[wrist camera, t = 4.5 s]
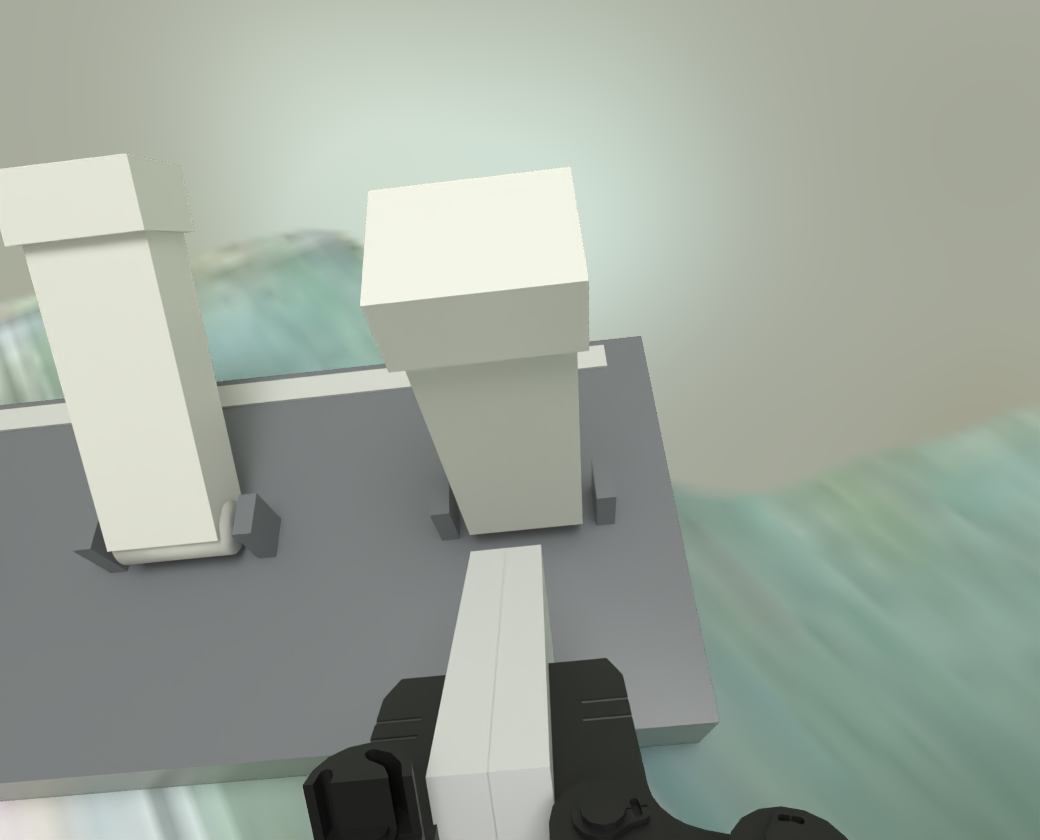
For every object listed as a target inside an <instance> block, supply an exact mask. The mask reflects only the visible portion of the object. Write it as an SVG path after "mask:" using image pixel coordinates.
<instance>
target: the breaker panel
mask: <svg viewBox="0 0 1040 840" xmlns="http://www.w3.org/2000/svg"><path fill="white" fill-rule="evenodd" d="M577 357H578V389H579V422H580V454H581V486H582V518H583V524H577V525H567V526H556V527H546V528H536V529H526V530H515V531H505V532H495V533H485V534H475V535H470V534H469V532H468V529H467V527H466V524H465V522H464V519H463V516H462V514H461V511H460V509H459V506H458V504H457V501H456V499H455V496H454V494H453V491H452V488H451V486H450V483H449V481H448V478H447V476H446V473H445V471H444V468H443V466H442V463H441V461H440V458H439V455H438V453H437V450H436V448H435V445H434V443H433V440H432V438H431V435H430V433H429V430H428V428H427V425H426V422H425V420H424V417H423V415H422V412H421V410H420V407H419V405H418V402H417V400H416V397H415V394H414V392H413V389H412V387H411V384H410V382H409V379H408V377H407V374H406V372H405V371H399V372H390V373H389V372H388V370H387V367H386V365H385V364H379V365H369V366H360V367H351V368H342V369H332V370H323V371H314V372H305V373H296V374H286V375H277V376H268V377H259V378H249V379H240V380H231V381H222V382H216V383H217V388H218V392H219V397H220V401H221V406H222V410H223V415H224V419H225V424H226V428H227V433H228V437H229V442H230V446H231V451H232V455H233V460H234V464H235V469H236V474H237V478H238V483H239V487H240V492H241V495H238V501H237V507H236V513H235V519H234V525H233V532H232V535H233V536H234V537H235V538H236V539H237V540H238V541H240V542H241V543H242V546H241V549H240V550H239V551H238V553H236V554H234V555H224V556H214V557H204V558H193V559H183V560H173V561H163V562H153V563H142V564H132V565H123V564H121V563H119V562H118V561H117V560H116V559H115V557H114V555H113V553H112V551H110V552H107V549H106V545H105V541H104V538H103V534H102V531H101V527H100V523H99V520H98V516H97V513H96V509H95V505H94V502H93V498H92V495H91V491H90V488H89V484H88V480H87V477H86V473H85V470H84V466H83V462H82V459H81V455H80V452H79V448H78V444H77V441H76V437H75V434H74V430H73V426H72V423H71V419H70V416H69V412H68V408H67V405H66V401H65V399H56V400H46V401H37V402H28V403H19V404H9V405H0V801H9V800H21V799H33V798H45V797H57V796H69V795H81V794H92V793H104V792H116V791H128V790H140V789H152V788H163V787H175V786H187V785H199V784H211V783H223V782H235V781H246V780H258V779H270V778H282V777H294V776H306V775H310V774H311V772H312V771H313V770H314V769H315V768H316V767H317V766H319V765H320V764H321V763H322V762H323V761H325V760H326V759H327V758H328V757H330V756H332V755H334V754H336V753H338V752H340V751H342V750H344V749H346V748H349V747H352V746H357V745H361V744H366V743H370V738H371V735H372V732H373V729H374V726H375V725H376V723H377V722H376V720H377V717H378V714H379V711H380V708H381V705H382V702H383V699H384V698H385V697H386V696H387V695H388V693H389V692H390V691H391V690H392V689H393V688H394V687H395V686H396V685H397V684H398V683H399V681H400V680H401V679H407V678H418V677H429V676H440V675H446V673H447V668H448V663H449V658H450V653H451V648H452V643H453V638H454V633H455V628H456V623H457V618H458V613H459V608H460V603H461V598H462V593H463V588H464V583H465V578H466V573H467V568H468V563H469V558H470V553H471V551H481V550H491V549H501V548H511V547H521V546H531V545H541V549H542V558H543V567H544V575H545V584H546V593H547V602H548V611H549V620H550V628H551V637H552V646H553V655H554V663H556V662H567V661H578V660H589V659H599V658H607V659H608V660H609V661H610V662H611V663H612V664H613V665H614V666H615V667H616V668H617V669H618V670H619V671H620V672H621V673H622V674H623V677H624V682H625V686H626V691H627V695H628V700H629V704H630V709H631V713H632V718H633V722H634V726H635V731H636V735H637V740H638V744H639V747H649V746H661V745H673V744H685V743H697V742H700V741H701V740H702V739H703V738H704V737H705V736H706V735H707V734H708V733H709V732H710V731H711V730H712V729H713V728H714V727H715V726H716V725H717V724H718V723H719V718H718V713H717V708H716V703H715V698H714V693H713V688H712V683H711V678H710V673H709V668H708V664H707V659H706V654H705V649H704V644H703V639H702V634H701V629H700V624H699V619H698V614H697V609H696V604H695V599H694V595H693V590H692V585H691V580H690V575H689V570H688V565H687V560H686V555H685V550H684V545H683V540H682V535H681V530H680V526H679V521H678V516H677V511H676V506H675V501H674V496H673V491H672V486H671V481H670V476H669V471H668V466H667V462H666V457H665V452H664V447H663V442H662V437H661V432H660V428H659V422H658V418H657V412H656V407H655V402H654V398H653V393H652V388H651V383H650V378H649V373H648V368H647V363H646V358H645V353H644V348H643V343H642V338H641V336H637V337H628V338H619V339H610V340H600V341H591V342H589V351H585V352H577Z"/></svg>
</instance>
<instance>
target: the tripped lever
mask: <svg viewBox="0 0 1040 840" xmlns="http://www.w3.org/2000/svg"><path fill="white" fill-rule="evenodd" d="M360 307H361V309H362V312H363V314H364V316H365V319H366V321H367V323H368V326H369V328H370V330H371V333H372V335H373V337H374V340H375V342H376V344H377V346H378V349H379V351H380V353H381V356H382V358H383V360H384V363H385V365H386V367H387V370H388V372H389V373H390V372H399V371H405V372H406V374H407V377H408V379H409V382H410V384H411V387H412V389H413V392H414V394H415V397H416V400H417V402H418V405H419V407H420V410H421V412H422V415H423V417H424V420H425V422H426V425H427V428H428V430H429V433H430V435H431V438H432V440H433V443H434V445H435V448H436V450H437V453H438V455H439V458H440V461H441V463H442V466H443V468H444V471H445V473H446V476H447V478H448V481H449V483H450V486H451V488H452V491H453V494H454V496H455V499H456V501H457V504H458V506H459V509H460V511H461V514H462V516H463V519H464V522H465V524H466V527H467V529H468V532H469V534H470V535H475V534H485V533H495V532H505V531H515V530H526V529H536V528H546V527H556V526H567V525H577V524H583V518H582V486H581V454H580V422H579V389H578V357H577V352H585V351H589V279H588V273H587V267H586V261H585V254H584V248H583V242H582V236H581V230H580V223H579V217H578V211H577V205H576V198H575V192H574V187H573V180H572V173H571V167H564V168H556V169H547V170H539V171H531V172H522V173H514V174H506V175H498V176H489V177H480V178H472V179H463V180H455V181H446V182H438V183H429V184H421V185H414V186H404V187H396V188H388V189H379V190H371V191H368V205H367V219H366V233H365V246H364V260H363V274H362V288H361V302H360Z"/></svg>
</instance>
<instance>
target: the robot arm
mask: <svg viewBox="0 0 1040 840" xmlns="http://www.w3.org/2000/svg"><path fill="white" fill-rule="evenodd" d="M376 722H377V723H376V725H375V726H374V729H373V732H372V735H371V738H370V743H366V744H361V745H357V746H352V747H349V748H346V749H344V750H342V751H340V752H338V753H336V754H334V755H332V756H330V757H328V758H327V759H326V760H325V761H323V762H322V763H321V764H320V765H319V766H317V767H316V768H315V769H314V770H313V771H312V772H311V774H310V775H309V777H308V778H307V780H306V781H305V783H304V784H303V790H304V794H305V799H306V804H307V808H308V813H309V818H310V822H311V827H312V832H313V836H314V840H848V839H847V838H846V837H845V836H844V835H843V834H842V833H840V832H839V831H838V830H837V829H836V828H835V827H833V826H832V825H831V824H830V823H829V822H828V821H826V820H824V819H821V818H819V817H817V816H815V815H813V814H811V813H808V812H806V811H804V810H798V809H792V808H787V807H781V806H780V807H772V808H763V809H758V810H756V811H754V812H752V813H750V814H748V815H746V816H744V817H742V818H741V819H740V821H739V822H738V824H737V825H736V826H735V828H734V829H733V830H732V832H731V835H730V834H724V833H719V832H714V831H709V830H704V829H701V828H697V827H694V826H690V825H687V824H685V823H683V822H681V821H679V820H677V819H675V818H674V817H672V816H671V815H670V814H668V813H667V812H666V811H665V810H663V809H662V808H661V807H660V806H659V805H658V803H657V802H656V801H655V799H654V798H653V797H652V795H651V792H650V790H649V787H648V785H647V780H646V776H645V771H644V767H643V762H642V758H641V753H640V749H639V744H638V740H637V735H636V731H635V726H634V722H633V718H632V713H631V709H630V704H629V700H628V695H627V691H626V686H625V682H624V677H623V674H622V673H621V672H620V671H619V670H618V669H617V668H616V667H615V666H614V665H613V664H612V663H611V662H610V661H609V660H608V659H607V658H599V659H589V660H578V661H567V662H556V663H554V655H553V646H552V637H551V628H550V620H549V611H548V602H547V593H546V584H545V575H544V567H543V558H542V549H541V545H531V546H521V547H511V548H501V549H491V550H481V551H471V553H470V558H469V563H468V568H467V573H466V578H465V583H464V588H463V593H462V598H461V603H460V608H459V613H458V618H457V623H456V628H455V633H454V638H453V643H452V648H451V653H450V658H449V663H448V668H447V673H446V675H440V676H429V677H418V678H407V679H401V680H400V681H399V683H398V684H397V685H396V686H395V687H394V688H393V689H392V690H391V691H390V692H389V693H388V695H387V696H386V697H385V698H384V699H383V702H382V705H381V708H380V711H379V714H378V717H377V720H376Z"/></svg>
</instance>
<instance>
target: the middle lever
mask: <svg viewBox="0 0 1040 840" xmlns="http://www.w3.org/2000/svg"><path fill="white" fill-rule="evenodd" d="M0 230H1V233H2V237H3V240H4V244H5V246H23V250H24V254H25V257H26V261H27V264H28V268H29V271H30V275H31V279H32V282H33V286H34V290H35V293H36V297H37V300H38V304H39V308H40V311H41V315H42V318H43V322H44V326H45V329H46V333H47V336H48V340H49V344H50V347H51V351H52V354H53V358H54V362H55V365H56V369H57V372H58V376H59V380H60V383H61V387H62V390H63V394H64V398H65V401H66V405H67V408H68V412H69V416H70V419H71V423H72V426H73V430H74V434H75V437H76V441H77V444H78V448H79V452H80V455H81V459H82V462H83V466H84V470H85V473H86V477H87V480H88V484H89V488H90V491H91V495H92V498H93V502H94V505H95V509H96V513H97V516H98V520H99V523H100V527H101V531H102V534H103V538H104V541H105V545H106V549H107V552H110V551H112V553H113V555H114V557H115V559H116V560H117V561H118V562H119V563H121V564H123V565H132V564H142V563H153V562H163V561H173V560H183V559H193V558H204V557H214V556H224V555H234V554H236V553H238V551H239V550H240V549H241V546H242V543H241V542H240V541H238V540H237V539H236V538H235V537H234V536H233V535H232V532H233V525H234V519H235V513H236V507H237V501H238V495H241V492H240V487H239V483H238V478H237V474H236V469H235V464H234V460H233V455H232V451H231V446H230V442H229V437H228V433H227V428H226V424H225V419H224V415H223V410H222V406H221V401H220V397H219V392H218V388H217V383H216V379H215V374H214V370H213V365H212V361H211V356H210V352H209V347H208V343H207V338H206V334H205V329H204V325H203V320H202V316H201V311H200V307H199V302H198V298H197V293H196V289H195V284H194V280H193V275H192V271H191V266H190V262H189V257H188V253H187V248H186V244H185V240H184V235H183V233H188V232H195V229H194V224H193V220H192V215H191V211H190V206H189V201H188V197H187V192H186V187H185V183H184V178H183V174H182V169H181V166H180V165H176V164H171V163H167V162H163V161H158V160H154V159H148V158H145V157H140V156H136V155H131V154H118V155H110V156H102V157H93V158H86V159H77V160H69V161H61V162H53V163H45V164H36V165H28V166H20V167H12V168H5V169H0Z"/></svg>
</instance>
